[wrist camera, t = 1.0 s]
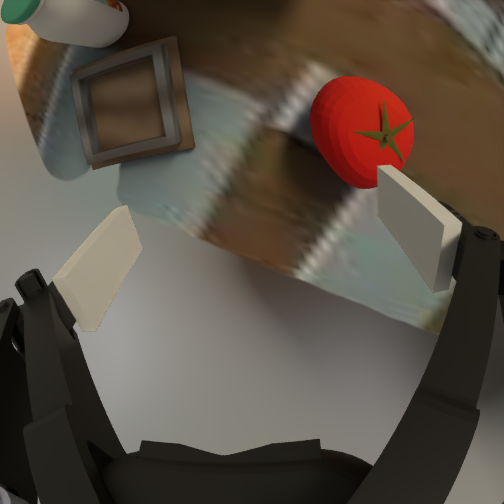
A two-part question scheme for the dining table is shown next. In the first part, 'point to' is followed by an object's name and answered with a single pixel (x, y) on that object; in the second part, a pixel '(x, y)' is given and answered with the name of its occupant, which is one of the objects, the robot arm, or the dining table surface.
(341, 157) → the tomato
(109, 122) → the bottle stand
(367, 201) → the dining table surface
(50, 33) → the milk bottle
